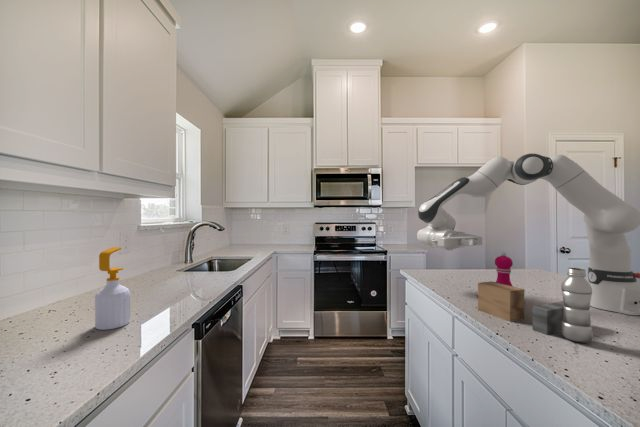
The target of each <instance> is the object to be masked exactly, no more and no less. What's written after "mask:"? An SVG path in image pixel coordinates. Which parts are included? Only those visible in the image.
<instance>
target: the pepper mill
mask: <svg viewBox="0 0 640 427" xmlns="http://www.w3.org/2000/svg"><path fill="white" fill-rule="evenodd" d="M513 264H514V263H513V260H512V258H510V257H509V256H507V253H506V252H505V251H502V252H501V253H500V255H499V256H497V257H495V259H494V265H495V266H496V270H495V272H497V277H496V280H495V282H496V283H501V284H505V285H509V286H513V284H512V282H511V278H510V276H511V273H512V266H513Z"/></svg>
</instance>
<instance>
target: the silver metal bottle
mask: <svg viewBox="0 0 640 427" xmlns="http://www.w3.org/2000/svg"><path fill="white" fill-rule="evenodd" d="M566 275H567V278H565V279H564V280H563V281H562V282H561V284H560V289H561V295H562V301H563V304H564V313H563V321H562V325H561V334H562V335H563V337H564V338H566V339H567V340H569V341H573V342H577V343H582V344H583V343H584V344H585V343H587V344H588V343H590V342H592V340H593V338H594V332H593V331H594V330H593V328H592V322H591V314H590V313H591V310H590V309H591V306H590V302H591V297H592V288H591V286H590V284H589V281H588V280H586V277H587V272H586V269H585V268H578V267H567V274H566Z"/></svg>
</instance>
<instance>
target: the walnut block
mask: <svg viewBox="0 0 640 427" xmlns="http://www.w3.org/2000/svg"><path fill="white" fill-rule="evenodd" d="M477 311H479V312H482V313H485V314H488V315H490V316H493V317H496V318H499V319H501V320H504V321H507V322H510V323H511V322H515V321H520V320H524V319H525V288H520V287H517V286H513V285H512V286H509V285H505V284H501V283H496V281H491V280H490V281H483V282H478V283H477Z"/></svg>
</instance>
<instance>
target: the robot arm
mask: <svg viewBox="0 0 640 427" xmlns="http://www.w3.org/2000/svg"><path fill="white" fill-rule="evenodd" d="M539 179H542V180H544V181H546V182H548V183H549V184H550V185H551V186H552V187H553V188H554V189H555V190H556V191H557V192H558V193H559V194H560V195H561V197H563V198H564V199H565V200H566V201H567V202H568V203H569V204H571V205H572V206H574V207H575V208H576V209H578V210H579V211H581V212H582V213H583V221H584V224H585V229H586V230H585V231H586V236H587V240H588V245H589V246H588V247H589V267H588V268H587V269H588V270H587V280H588V283H589V284H590V286H591V288H592V297H591V302H590V307H592V308H596V309H600V310H604V311H610V312H614V313H620V314H624V315H629V316H640V283H639V282H638V280H637V279H640V272H636V273H635V272H633V271H632V249H631V247H630V246H629V244H628V240H627V235H626V233H630V232H633V231H635V230H637V229H638V228H639V226H640V211H639V209H637V208H635V207H634V206H632V205H630V204H628V203H627V202H626V201H624V200H623V199H621V198H620V197H619V196H617V195H616V194H614V193H613V192H611V191H610V190H608V189H607V188H605V187H604V186H603V185H601V184H600V182H598V181H597V180H596V179H595V178H593V177H592V175H591V174H589V173H588V172H587V171H586V170H585V169H584V168H583V167H582V166H581V165H580V164H578V163H577V162H575V160H572V159H571V158H569V157H568V156H566V155H564V154H555V155H553V156H550V157H548V156H545V155H541V154H539V153H527V154H523V155H521V156H520V157H519V158H517V159H516V160H515V161H510V160H509V159H507V158H506V157H502V156H495V157H493V158H492V159H490V160H488V161H487V162H486V163H484V164H483V165H482V166H481V167H480V168H478V170H476V172H474V173H473V174H470V175H469V176H467V177H465V176H464V177H460V178H458V179H456V180H455V181H453V182H452V183H451V184H449V185H448V186H446V187H445V188H443V189H442V190H441V191H440V192H438V193H437V194H435V195H434V196H433V197H431V198H429V199H428V200H425V201H424V202H422V203H421V204H420V205H419V207H418V211H417V213H418V216H417V217H418V219H419V220H421V221H422V222H424V223H426V224H427V225H428V226H426V227H424V228H421V229H419V230H418V231H417V234H416V238H417V241H418V243H419V244H420V245H422V246H424V247H427V248H432V249H438V250H442V251H443V250H444V251H448V252H449V251H453V250H455V249H458V248H459V249H460V248H465V247H469V246H470V247H471V246H472V247H473V246H477V247H478V246H482V245H483V237H482V236H481V235H476V234H470V233H465V231H456V230H455V227H456V219H455V218H454V217H453V216H452V215H451V214H450V213H449V212H447V211H446V210H445V209H444V208H443V206H444V205H446V204H447V203H448V202H449V201H451V200H452V199H453V198H455V197H456V196H458V195H461V194H463V195H468V196H471V197H474V198H486V197H488V196H489V195H491V194H492V193H494V192H495V191H496V190H497V189H498V188H499V187H500V186H502V184H503V183H505V182H506V181H508V182H510V183H513V184H516V185H520V186H522V185H523V186H525V185H529V184H531V183H534V182H536V181H538V180H539Z"/></svg>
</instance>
